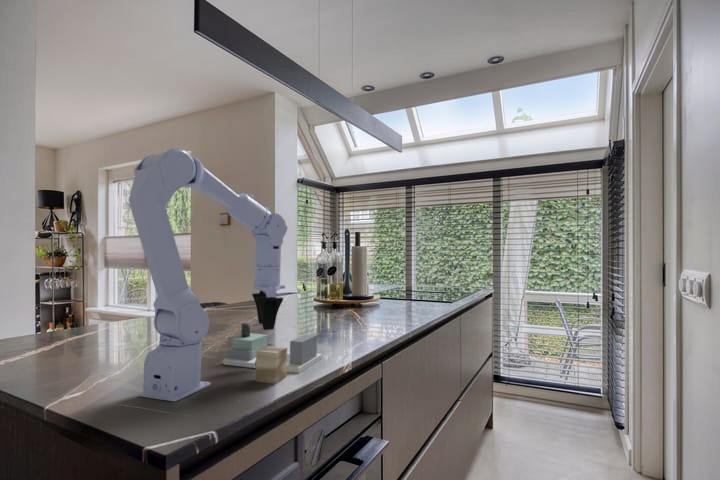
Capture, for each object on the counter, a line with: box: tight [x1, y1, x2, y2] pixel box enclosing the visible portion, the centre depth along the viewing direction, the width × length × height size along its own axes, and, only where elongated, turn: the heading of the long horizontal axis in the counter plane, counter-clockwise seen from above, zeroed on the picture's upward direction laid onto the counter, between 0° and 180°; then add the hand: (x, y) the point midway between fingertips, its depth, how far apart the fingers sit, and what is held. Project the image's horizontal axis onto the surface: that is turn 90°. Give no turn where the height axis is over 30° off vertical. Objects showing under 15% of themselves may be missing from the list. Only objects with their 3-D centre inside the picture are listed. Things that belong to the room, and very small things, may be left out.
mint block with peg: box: [232, 322, 269, 358], centre depth 96 cm, size 7×5×7 cm
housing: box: [255, 346, 288, 385], centre depth 81 cm, size 4×6×6 cm
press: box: [222, 334, 323, 374], centre depth 94 cm, size 13×19×6 cm
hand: (266, 326), depth 90 cm, fingers open, 7 cm apart
